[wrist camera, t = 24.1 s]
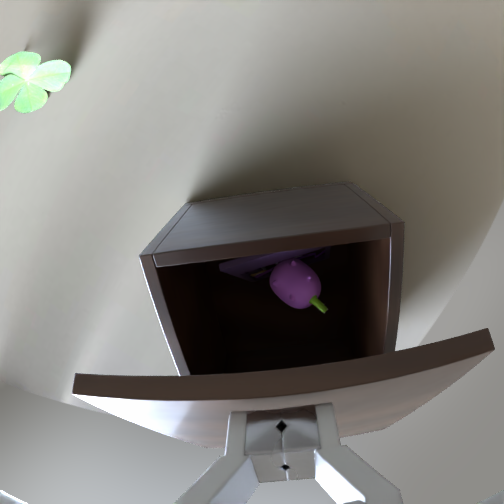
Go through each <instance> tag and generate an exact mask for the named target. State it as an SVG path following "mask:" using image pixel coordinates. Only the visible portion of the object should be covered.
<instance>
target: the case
mask: <svg viewBox="0 0 504 504" xmlns="http://www.w3.org/2000/svg"><path fill="white" fill-rule="evenodd" d="M324 246H331V249H330V257H329V258H328V259H325V260H322V261H319V262H316V263H313V264H310V265H308V266H309V267H310V268H311V269H312V270H313V271H314V272H315V273H316V274H317V276H318V277H319V279H320V282H321V292H320V295H319V297H318V299H319V300H320V301H321V302H322V303H323V304H325V305H324V306H326V307H327V309H328V310H327V311H326V312H325V314H324V313H323V312H321V310H319V309H318V308H317V307H316V306H314V305H313V304H312V305H311V306H309V307H307V308H303V309H297V308H293V307H291V306H289V305H287V304H286V303H285V302H283V301H282V300H281V299H280V298H279V297H278V296H277V295H276V294H275V293H274V291H273V290H272V288H271V286H270V277H268V278H265V279H261V280H258V281H255V282H250V281H247V280H244V279H241V278H239V277H236V276H233V275H230V274H227V273H224V272H222V271H220V268H219V264H221V263H224V262H227V261H230V260H233V259H237V258H240V257H245V256H253V255H261V254H269V253H277V252H285V251H292V250H300V249H308V248H316V247H324ZM324 250H325V248H322V249H319V250H316V251H313V252H309V253H306V254H303V255H302V256H304V255H307V254H311V253H316V256H317V255H318V254H320V253H321V252H322V251H324ZM324 254H325V252H324V253H323V254H321V255H324ZM321 255H320V256H321ZM403 257H404V221H402V220H401V219H400V218H399V217H397V216H396V215H395V214H394V213H392V212H391V211H390V210H388V209H387V208H386V207H385V206H383V205H382V204H381V203H379V202H378V201H377V200H375V199H374V198H373V197H371V196H370V195H369V194H367V193H366V192H365V191H363V190H362V189H361V188H359V187H358V186H357V185H355V184H354V183H352V182H342V183H332V184H323V185H314V186H305V187H296V188H288V189H280V190H273V191H265V192H258V193H250V194H243V195H236V196H230V197H223V198H216V199H210V200H204V201H197V202H191V203H185V204H184V205H183V206H182V208H181V209H180V210H179V211H178V212H177V213H176V214H175V215H174V216H173V217H172V219H171V220H170V221H169V222H168V223H167V224H166V225H165V226H164V227H163V229H162V230H161V231H160V232H159V233H158V234H157V235H156V237H155V238H154V239H153V240H152V241H151V242H150V243H149V245H148V246H147V247H146V248H145V249H144V250H143V252H142V253H141V254H140V255H139V259H140V262H141V265H142V269H143V272H144V275H145V279H146V282H147V285H148V288H149V291H150V294H151V298H152V301H153V304H154V307H155V310H156V313H157V315H158V318H159V321H160V324H161V327H162V330H163V333H164V335H165V338H166V341H167V344H168V346H169V349H170V352H171V354H172V357H173V360H174V362H175V365H176V367H177V370H178V373H179V375H180V376H186V375H212V374H230V373H244V372H257V371H268V370H278V369H287V368H296V367H304V366H312V365H319V364H326V363H333V362H340V361H346V360H352V359H358V358H363V357H369V356H374V355H380V354H385V353H390V352H395V346H396V338H397V330H398V322H399V312H400V302H401V290H402V276H403ZM297 258H298V257H297ZM312 258H315V255H312V256H309V257H305V258H302V259H300V260H301V261H306V260H309V259H312ZM278 263H279V262H278ZM276 265H277V264H276V263H275V264H272V265H268V266H265V268H266V269H267V270H269V269H271V268H273V267H275V266H276ZM270 272H271V271H270Z"/></svg>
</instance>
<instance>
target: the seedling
mask: <svg viewBox="0 0 504 504" xmlns="http://www.w3.org/2000/svg"><path fill="white" fill-rule="evenodd" d="M40 61H41V57H40V55H39V54H36V53H32V52H19V53H16V54H13V55H11V56H10V57H8V58H7V59H6V60H5V61H4V62H3V63H2V64H1V66H0V74H1V75H2V76H6V77H5V78H4V79H2V80H1V81H0V111H1V110H3V109H5V108H6V107H7V106H9V105H10V103H11V102H13V100H14V98H15V97H16V95H17V94H18V92H19V91H20V92H19V94H18V96H17V98H16V100H15V103H14V105H15V110H17V111H18V112H21V113H29V112H31V111H35V110H37V109H39V108H41V107H42V106H43V105H44V104H45V102H46V101H47V98H48V96H47V92H45V89H46V90H48V91H51V92H54V91H59V90H61V89H62V87H63V86H64V83H67V82H68V80H69V78H70V73H71V67H70V65H69V64H68V63H67V62H64V61H63V60H53V61H49V62H45V63H43V64H40ZM39 64H40V65H39ZM38 65H39V66H38ZM37 66H38V67H37ZM32 72H33V73H32ZM31 73H32V74H31ZM42 88H43V89H42ZM20 89H21V90H20Z"/></svg>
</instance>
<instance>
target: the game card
mask: <svg viewBox="0 0 504 504" xmlns="http://www.w3.org/2000/svg"><path fill="white" fill-rule="evenodd" d="M322 248H325V250H324V251H322V252H321V253H320V254H318V255H317V256H316V253H311V254H307V255H304V256H302V255H303V254H306V253H309V252H313V251H316V250H319V249H322ZM330 249H331V246H324V247H316V248H308V249H300V250H292V251H285V252H277V253H269V254H261V255H253V256H245V257H240V258H237V259H233V260H230V261H227V262H224V263H221V264H219V268H220V271H222V272H224V273H227V274H230V275H233V276H236V277H239V278H241V279H244V280H247V281H250V282H255V281H258V280H261V279H265V278H268V277H270V286H271V288H272V290H273V291H274V293H275V294H276V295H277V296H278V297H279V298H280V299H281V300H282V301H283V302H285V303H286V304H287V305H289V306H291V307H293V308H297V309H303V308H307V307H309V306H311V305H312V304H313V305H314V306H316V307H317V308H318V309H319V310H321V312H323V313H324V314H325V312H326V311H327V310H328V309H327V307H326V306H324V305H325V304H323V303H322V302H321V301H320V300H319V299H318V297H319V295H320V292H321V282H320V279H319V277H318V276H317V274H316V273H315V272H314V271H313V270H312V269H311V268H310V267H309V266H308V265H310V264H313V263H316V262H319V261H322V260H325V259H328V258H329V257H330ZM324 252H325V254H324V255H321V254H323V253H324ZM312 255H315V258H312V259H309V260H306V261H301V260H300V259H302V258H305V257H309V256H312ZM320 255H321V256H320ZM297 257H298V258H297ZM278 262H279V263H278ZM275 263H276V264H277V265H276V266H275V267H273V268H271V269H269V270H267V269H266V268H265V266H268V265H272V264H275ZM270 271H271V272H270Z"/></svg>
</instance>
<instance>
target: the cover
mask: <svg viewBox="0 0 504 504" xmlns="http://www.w3.org/2000/svg"><path fill="white" fill-rule="evenodd" d="M494 350H495V348H494V345H493V341H492V338H491V335H490V332H489V329H488V328H486V329H482V330H479V331H475V332H472V333H468V334H465V335H461V336H458V337H454V338H451V339H446V340H443V341H439V342H435V343H430V344H426V345H422V346H418V347H413V348H409V349H404V350H399V351H395V352H390V353H385V354H380V355H374V356H369V357H363V358H358V359H352V360H346V361H340V362H333V363H326V364H319V365H312V366H304V367H296V368H287V369H278V370H268V371H257V372H244V373H230V374H212V375H186V376H124V375H98V374H81V373H75V377H74V383H73V390H72V394H73V395H75V396H76V397H78V398H80V399H82V400H84V401H86V402H88V403H91V404H93V405H95V406H97V407H99V408H101V409H103V410H105V411H108V412H110V413H112V414H114V415H117V416H119V417H121V418H124V419H126V420H129V421H131V422H133V423H136V424H138V425H141V426H143V427H146V428H149V429H151V430H154V431H157V432H159V433H162V434H165V435H168V436H171V437H174V438H177V439H180V440H183V441H186V442H189V443H192V444H195V445H198V446H202V447H206V448H226V439H227V430H228V421H229V415H230V413H231V411H254V410H273V409H281V408H288V407H297V406H304V405H311V404H314V405H315V404H321V403H328V402H332V404H333V407H334V412H335V417H336V422H337V427H338V432H339V438H341V437H347V436H353V435H358V434H364V433H369V432H374V431H378V430H383V429H385V428H387V427H389V426H390V425H392V424H394V423H395V422H397V421H399V420H400V419H402V418H403V417H405V416H407V415H408V414H410V413H411V412H413V411H415V410H416V409H417V408H419V407H421V406H422V405H424V404H425V403H427V402H428V401H430V400H431V399H432V398H434V397H435V396H437V395H438V394H439V393H441V392H442V391H444V390H445V389H446V388H448V387H449V386H450V385H452V384H453V383H454V382H456V381H457V380H458V379H460V378H461V377H462V376H464V375H465V374H466V373H467V372H469V371H470V370H471V369H472V368H474V367H475V366H476V365H477V364H478V363H480V362H481V361H482V360H483V359H484V358H485V357H487V356H488V355H489V354H490V353H491V352H492V351H494Z"/></svg>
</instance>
